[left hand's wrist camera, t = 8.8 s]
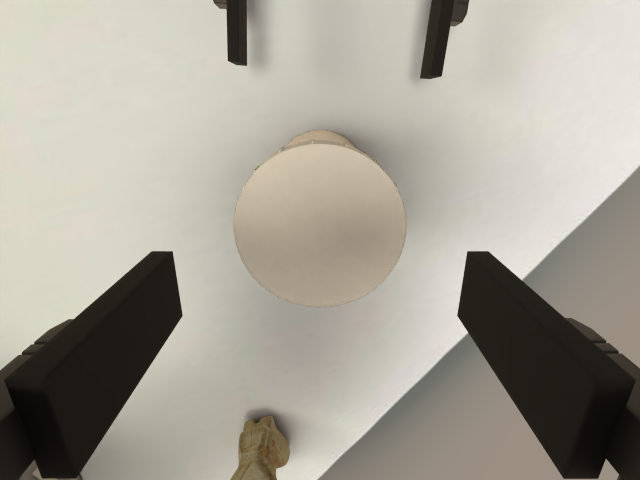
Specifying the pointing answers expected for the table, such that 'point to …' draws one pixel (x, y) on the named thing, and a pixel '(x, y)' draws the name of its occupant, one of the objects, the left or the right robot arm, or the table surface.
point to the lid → (319, 224)
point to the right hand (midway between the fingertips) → (334, 71)
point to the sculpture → (261, 451)
